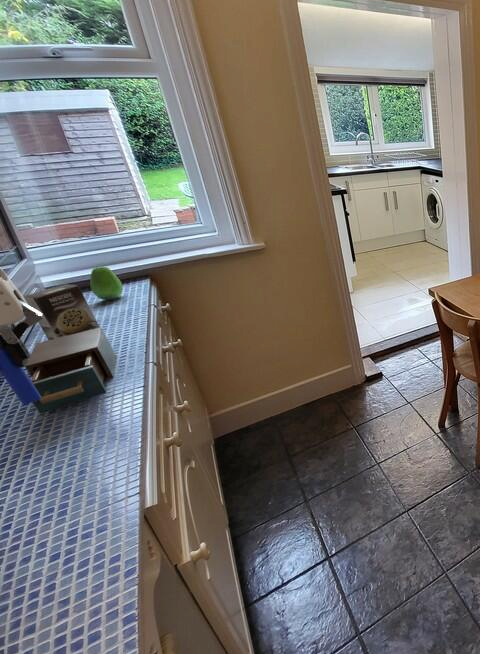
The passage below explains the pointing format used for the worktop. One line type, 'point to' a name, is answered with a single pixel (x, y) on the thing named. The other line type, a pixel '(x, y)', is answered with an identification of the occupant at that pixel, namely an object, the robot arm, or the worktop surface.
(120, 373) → the worktop surface
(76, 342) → the cabinet
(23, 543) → the worktop surface
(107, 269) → the avocado
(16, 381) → the marker
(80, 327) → the coffee box
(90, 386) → the drawer
